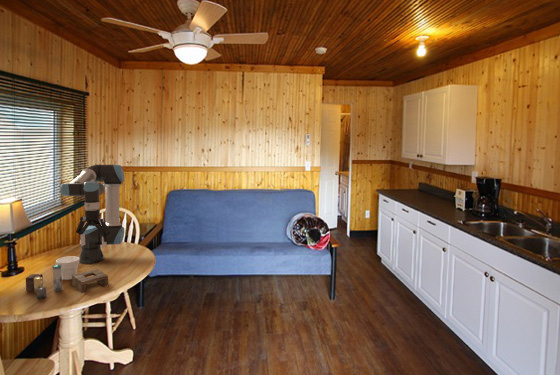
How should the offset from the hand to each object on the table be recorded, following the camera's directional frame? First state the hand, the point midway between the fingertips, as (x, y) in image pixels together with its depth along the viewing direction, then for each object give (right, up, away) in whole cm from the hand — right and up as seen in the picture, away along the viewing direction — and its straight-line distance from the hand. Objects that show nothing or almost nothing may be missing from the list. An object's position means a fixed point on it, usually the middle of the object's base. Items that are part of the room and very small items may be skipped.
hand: (93, 246), depth 214 cm
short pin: (-19, -24, -16) cm, 35 cm away
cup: (-21, -20, +12) cm, 31 cm away
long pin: (-16, -23, -7) cm, 29 cm away
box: (-30, -23, -6) cm, 38 cm away
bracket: (-2, -22, +1) cm, 22 cm away
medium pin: (-24, -23, -10) cm, 35 cm away
